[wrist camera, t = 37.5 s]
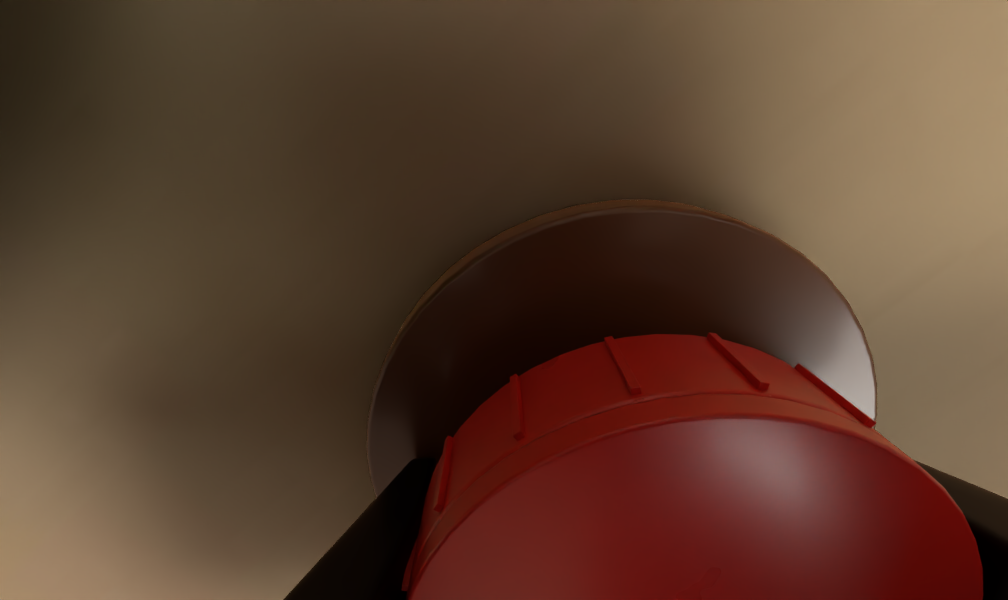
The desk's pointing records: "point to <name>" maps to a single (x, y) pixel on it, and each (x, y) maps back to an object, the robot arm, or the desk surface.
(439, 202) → the desk surface
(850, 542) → the jar lid
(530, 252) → the coaster
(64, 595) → the desk surface
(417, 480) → the robot arm
